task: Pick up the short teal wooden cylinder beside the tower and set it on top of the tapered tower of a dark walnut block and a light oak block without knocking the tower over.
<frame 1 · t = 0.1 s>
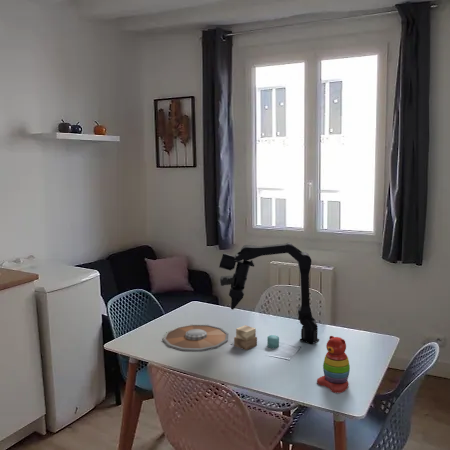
hand: (232, 305, 213), 15 cm above the table, tool pointing down, fingers open, 9 cm apart
teal cylinder: (273, 346, 208), on the table
stacking bear: (335, 385, 173), on the table
walnut base block: (245, 346, 208), on the table, touching oak top block
shield: (196, 339, 217), on the table
oak top block: (245, 337, 208), point 4 cm above the table, touching walnut base block
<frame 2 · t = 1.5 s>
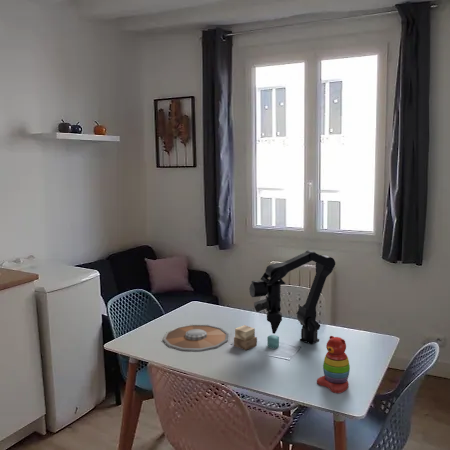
hand: (273, 329, 207), 7 cm above the table, tool pointing down, fingers open, 9 cm apart
nothing on the table moved.
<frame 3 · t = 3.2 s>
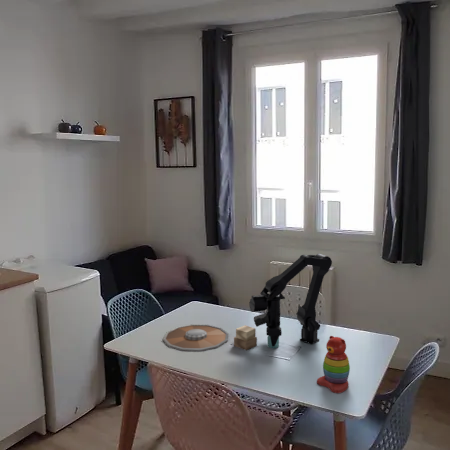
hand: (273, 343, 207), 1 cm above the table, tool pointing down, fingers closed on teal cylinder, 5 cm apart
teal cylinder: (273, 345, 208), on the table, touching gripper
walnut base block: (245, 346, 208), on the table
oak top block: (245, 337, 208), point 4 cm above the table
everything else where it was.
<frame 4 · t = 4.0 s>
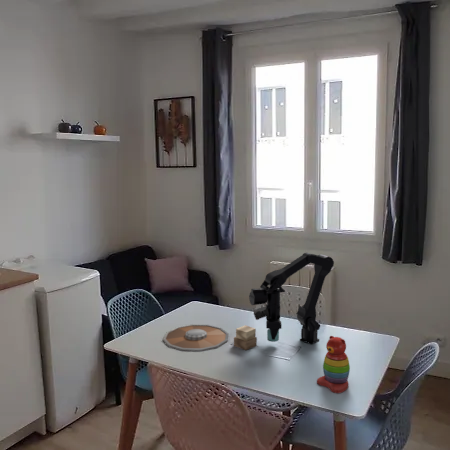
hand: (273, 337, 207), 4 cm above the table, tool pointing down, fingers closed on teal cylinder, 5 cm apart
teal cylinder: (273, 339, 207), point 3 cm above the table, touching gripper
walnut base block: (245, 346, 208), on the table, touching oak top block
oak top block: (245, 337, 208), point 4 cm above the table, touching walnut base block
everything else where it was.
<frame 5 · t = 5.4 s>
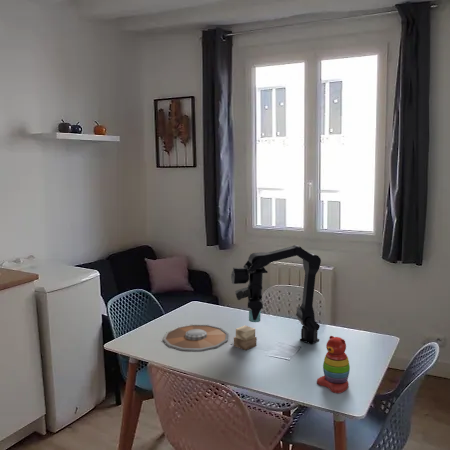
hand: (254, 318, 206), 13 cm above the table, tool pointing down, fingers closed on teal cylinder, 5 cm apart
teal cylinder: (254, 320, 206), point 12 cm above the table, touching gripper
everything else where it was.
when the fingers open (10 cm above the table, at t = 6.8 s): teal cylinder stays where it is, point 9 cm above the table.
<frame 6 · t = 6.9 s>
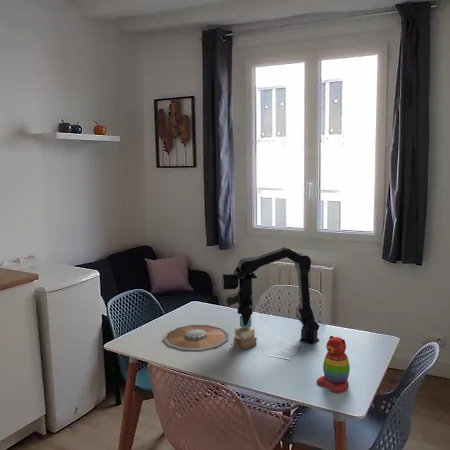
hand: (245, 323, 207), 10 cm above the table, tool pointing down, fingers open, 5 cm apart
teal cylinder: (245, 325, 207), point 9 cm above the table
everything else where it was.
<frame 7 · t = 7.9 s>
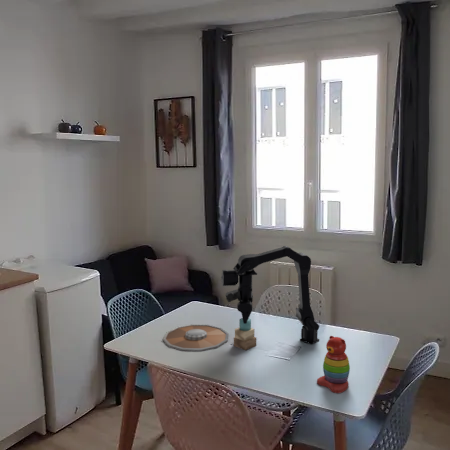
hand: (245, 319, 206), 12 cm above the table, tool pointing down, fingers open, 9 cm apart
teal cylinder: (245, 328, 207), point 8 cm above the table, touching oak top block
oak top block: (244, 337, 207), point 4 cm above the table, touching teal cylinder, walnut base block
everything else where it was.
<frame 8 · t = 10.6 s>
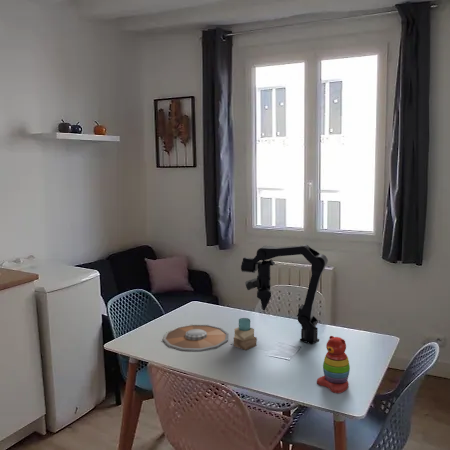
hand: (263, 306, 220), 13 cm above the table, tool pointing down, fingers open, 9 cm apart
nothing on the table moved.
at the end: teal cylinder 0.3 cm off-centre on the walnut base block, point 8.0 cm above the walnut base block's base; oak top block 0.4 cm off-centre on the walnut base block, point 4.0 cm above the walnut base block's base; teal cylinder tilted 0° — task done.
